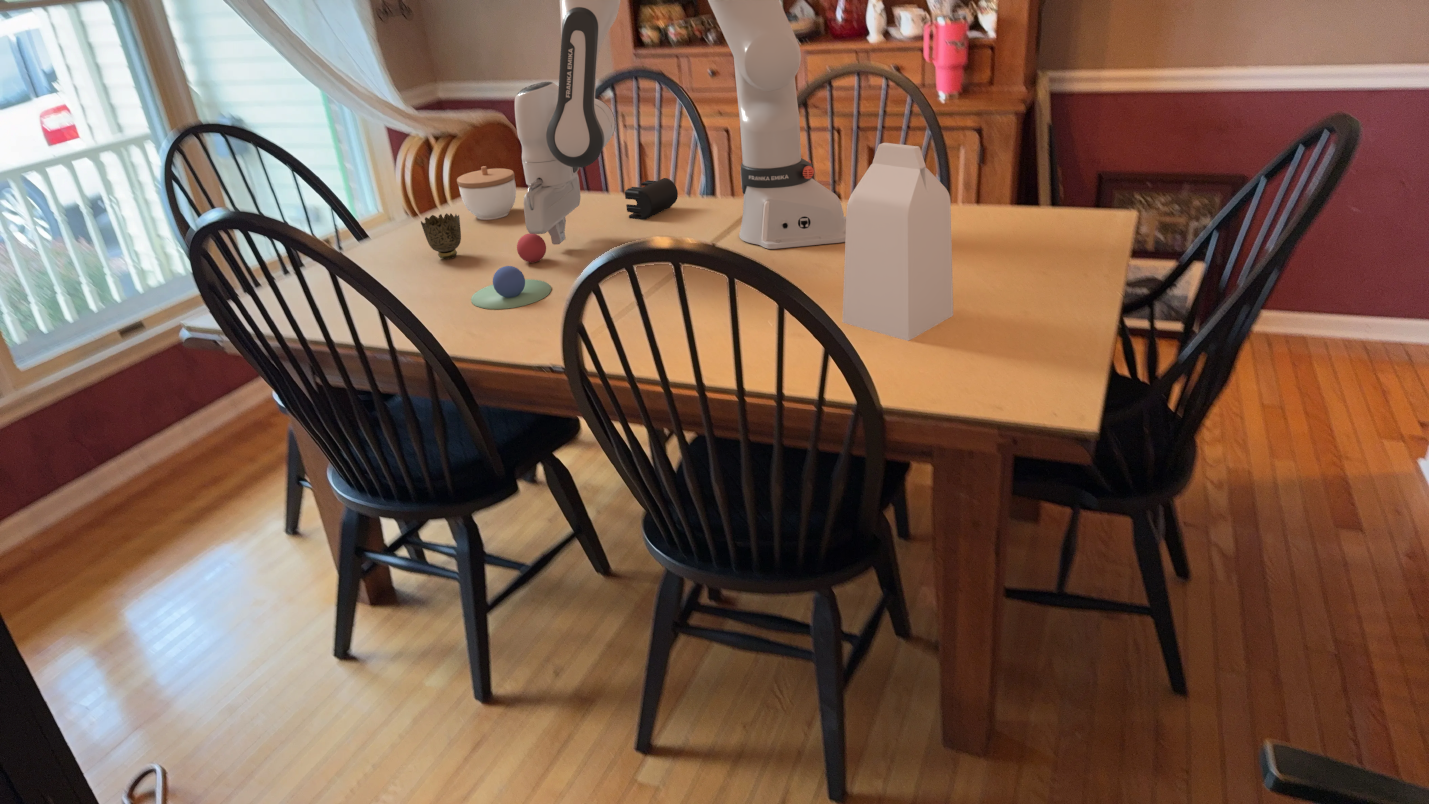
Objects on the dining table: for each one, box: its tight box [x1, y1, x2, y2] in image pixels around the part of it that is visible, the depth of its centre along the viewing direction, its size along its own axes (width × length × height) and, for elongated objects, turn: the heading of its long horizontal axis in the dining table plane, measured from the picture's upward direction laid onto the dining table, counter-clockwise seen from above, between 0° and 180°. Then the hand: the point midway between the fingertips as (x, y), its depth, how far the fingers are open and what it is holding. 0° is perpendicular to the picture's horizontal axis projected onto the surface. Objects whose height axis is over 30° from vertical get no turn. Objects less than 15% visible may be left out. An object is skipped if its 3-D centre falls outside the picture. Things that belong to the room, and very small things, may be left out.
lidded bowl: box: [456, 165, 517, 221], centre depth 213 cm, size 13×13×11 cm
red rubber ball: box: [516, 232, 547, 263], centre depth 182 cm, size 6×6×6 cm
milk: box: [842, 142, 954, 342], centre depth 138 cm, size 12×12×26 cm
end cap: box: [624, 177, 679, 221], centre depth 205 cm, size 10×7×7 cm
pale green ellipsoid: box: [470, 278, 552, 310], centre depth 168 cm, size 14×14×1 cm
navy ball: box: [492, 265, 526, 298], centre depth 165 cm, size 6×6×6 cm
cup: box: [420, 213, 462, 260], centre depth 188 cm, size 8×7×8 cm
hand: (559, 242), depth 188 cm, fingers closed
